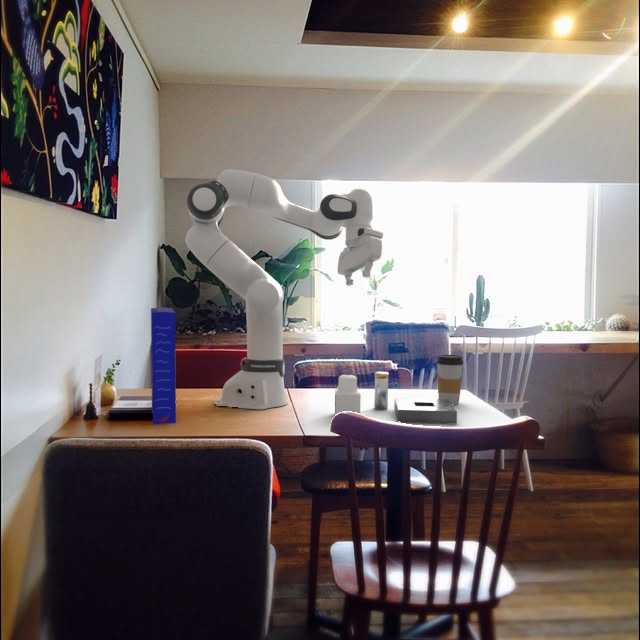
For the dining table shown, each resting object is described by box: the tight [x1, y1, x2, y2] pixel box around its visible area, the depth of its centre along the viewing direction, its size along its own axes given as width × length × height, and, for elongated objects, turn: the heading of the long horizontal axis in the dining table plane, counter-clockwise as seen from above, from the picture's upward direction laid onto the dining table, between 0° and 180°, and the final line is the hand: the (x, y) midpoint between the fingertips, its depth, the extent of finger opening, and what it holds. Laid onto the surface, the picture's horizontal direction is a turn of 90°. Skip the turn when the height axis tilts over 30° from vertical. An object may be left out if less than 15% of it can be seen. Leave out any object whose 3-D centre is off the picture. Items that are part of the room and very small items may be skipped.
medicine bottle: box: [334, 373, 362, 415], centre depth 174 cm, size 7×7×12 cm
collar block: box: [393, 397, 458, 424], centre depth 175 cm, size 16×16×4 cm
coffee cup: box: [436, 354, 464, 405], centre depth 194 cm, size 8×8×15 cm
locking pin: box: [373, 371, 389, 411], centre depth 184 cm, size 4×4×11 cm
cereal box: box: [150, 307, 177, 425], centre depth 172 cm, size 22×6×30 cm, turn 16°
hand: (357, 281), depth 186 cm, fingers open, 8 cm apart
